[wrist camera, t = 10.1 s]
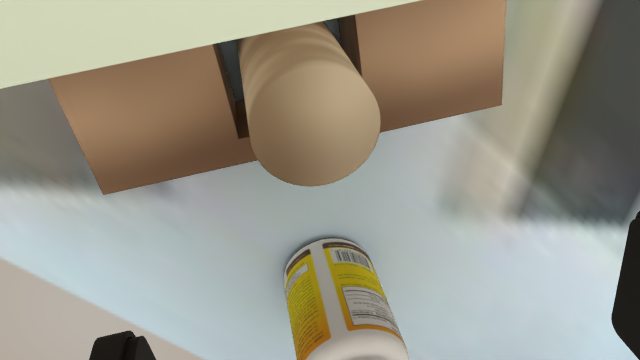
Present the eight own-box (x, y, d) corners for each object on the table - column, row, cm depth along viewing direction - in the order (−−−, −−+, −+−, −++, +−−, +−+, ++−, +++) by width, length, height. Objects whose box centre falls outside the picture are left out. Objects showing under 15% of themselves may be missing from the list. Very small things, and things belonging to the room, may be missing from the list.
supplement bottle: (293, 311, 33) (321, 466, 25) (272, 247, 30) (296, 400, 22) (375, 288, 34) (431, 434, 25) (363, 223, 31) (421, 364, 22)
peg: (314, -19, 23) (374, 52, 15) (327, 66, 25) (385, 170, 17) (226, -1, 23) (234, 82, 14) (247, 83, 25) (265, 198, 16)
